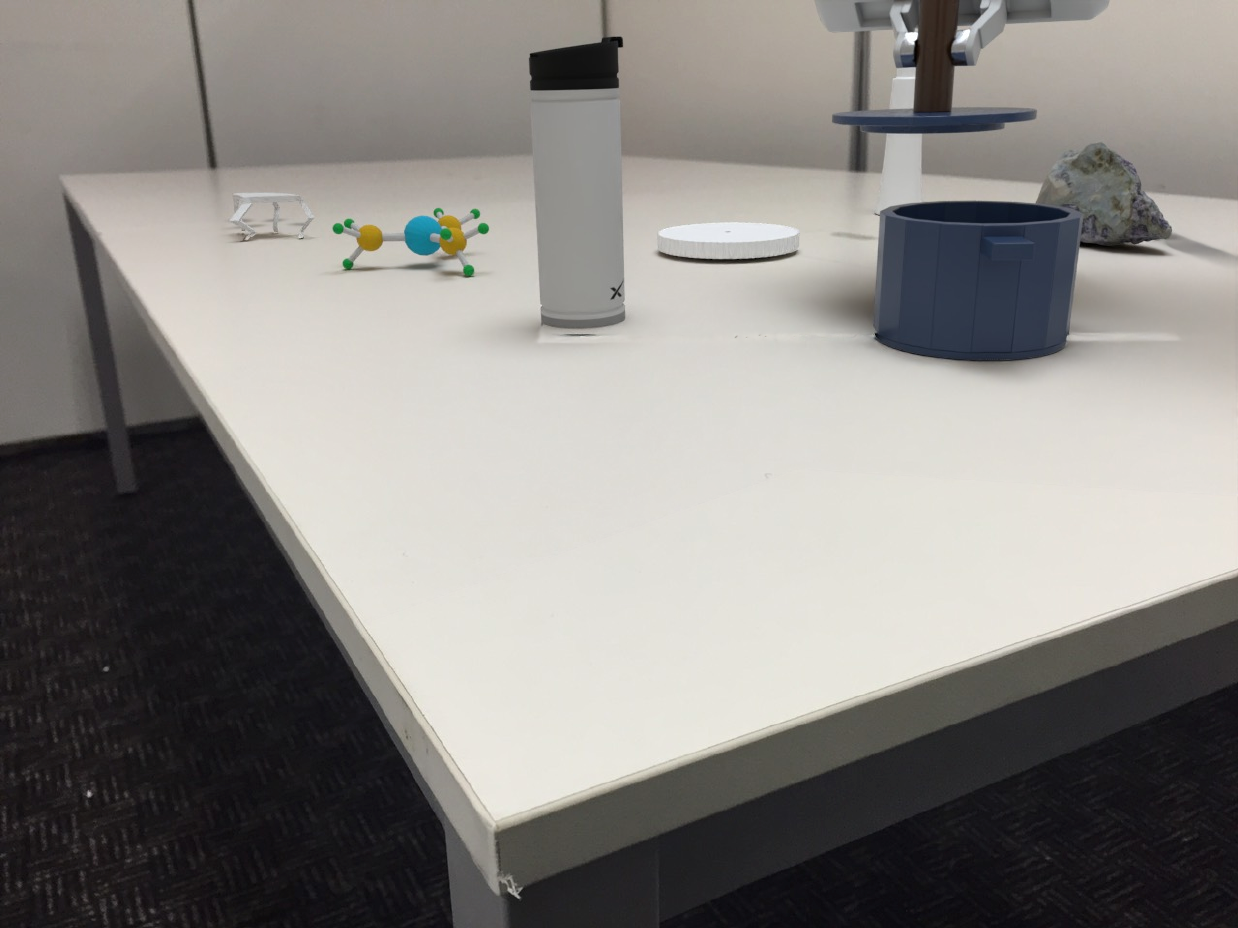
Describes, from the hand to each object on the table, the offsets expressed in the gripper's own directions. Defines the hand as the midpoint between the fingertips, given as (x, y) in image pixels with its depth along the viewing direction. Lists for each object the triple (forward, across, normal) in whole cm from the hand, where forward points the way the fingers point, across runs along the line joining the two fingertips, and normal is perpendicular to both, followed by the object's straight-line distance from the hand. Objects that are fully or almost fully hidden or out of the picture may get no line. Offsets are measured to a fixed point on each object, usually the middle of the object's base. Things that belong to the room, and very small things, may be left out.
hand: (933, 60), depth 74 cm
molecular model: (+11, -49, +14) cm, 52 cm away
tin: (+16, +5, +10) cm, 19 cm away
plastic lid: (-1, -25, +26) cm, 36 cm away
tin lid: (+2, 0, +3) cm, 4 cm away
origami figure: (+4, -81, +20) cm, 84 cm away
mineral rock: (-15, +6, +41) cm, 44 cm away
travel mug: (+22, -21, +4) cm, 31 cm away
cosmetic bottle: (-28, -19, +54) cm, 63 cm away
